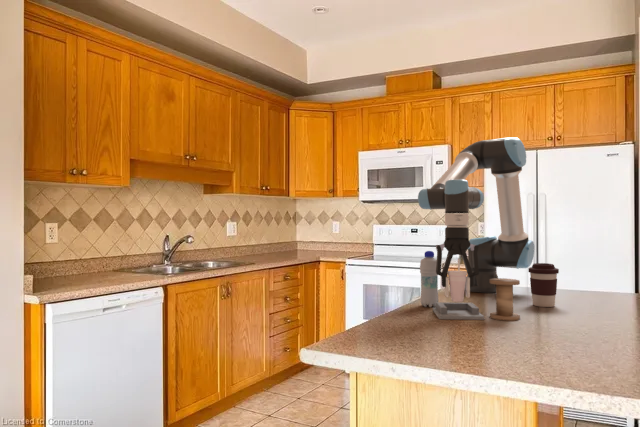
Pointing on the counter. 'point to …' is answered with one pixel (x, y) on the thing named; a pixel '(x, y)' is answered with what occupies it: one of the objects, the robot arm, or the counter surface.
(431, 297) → the bottle
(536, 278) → the coffee cup
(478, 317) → the notch board
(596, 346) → the counter surface
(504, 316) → the bobbin
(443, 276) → the robot arm
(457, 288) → the smoothie
